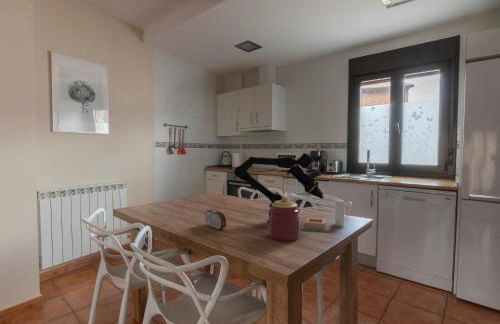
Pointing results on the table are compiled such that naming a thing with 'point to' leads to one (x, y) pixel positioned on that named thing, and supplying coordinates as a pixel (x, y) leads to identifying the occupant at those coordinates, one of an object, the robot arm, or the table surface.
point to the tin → (215, 219)
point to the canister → (284, 220)
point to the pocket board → (315, 225)
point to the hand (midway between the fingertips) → (322, 196)
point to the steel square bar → (339, 213)
